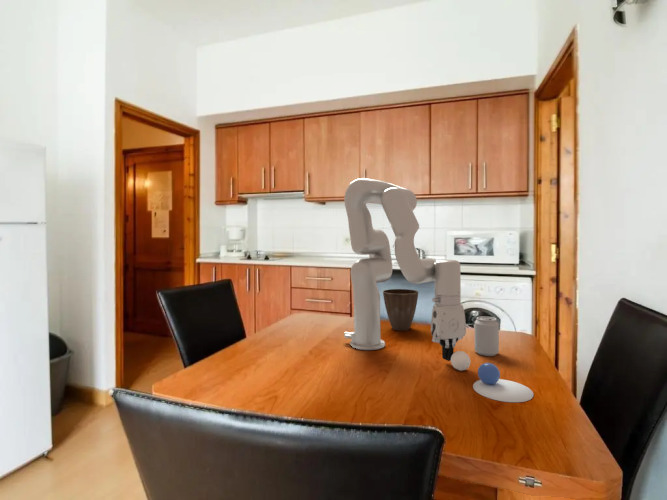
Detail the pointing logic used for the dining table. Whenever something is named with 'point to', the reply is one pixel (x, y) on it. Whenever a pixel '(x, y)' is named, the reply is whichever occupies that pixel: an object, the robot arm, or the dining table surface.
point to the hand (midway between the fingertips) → (447, 359)
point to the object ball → (488, 373)
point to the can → (486, 336)
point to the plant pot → (400, 307)
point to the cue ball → (460, 360)
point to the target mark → (504, 391)
